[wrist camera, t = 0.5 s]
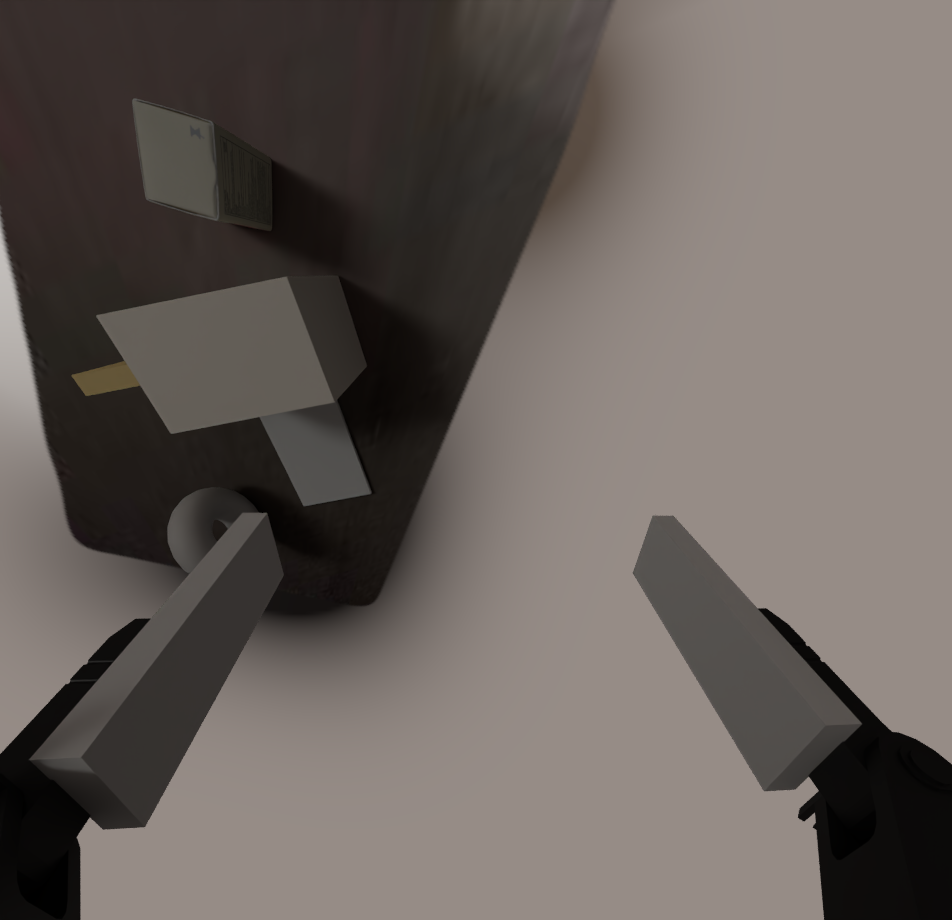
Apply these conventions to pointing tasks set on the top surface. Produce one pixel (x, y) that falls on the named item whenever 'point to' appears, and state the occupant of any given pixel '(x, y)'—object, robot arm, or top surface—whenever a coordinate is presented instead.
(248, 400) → the large beige block
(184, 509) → the donut
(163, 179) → the small box
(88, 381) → the yellow rectangular slab
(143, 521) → the top surface
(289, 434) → the mat
